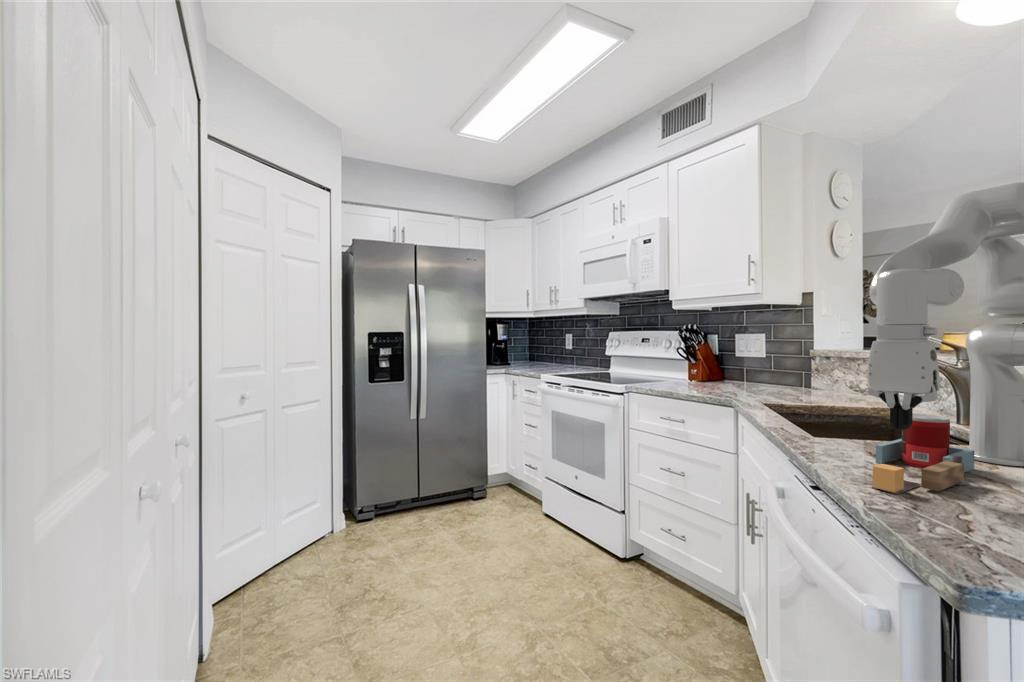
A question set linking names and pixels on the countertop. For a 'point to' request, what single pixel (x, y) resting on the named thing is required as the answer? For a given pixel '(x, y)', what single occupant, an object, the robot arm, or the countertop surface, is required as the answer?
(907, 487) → the grey flat plate
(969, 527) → the countertop surface
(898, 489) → the orange cube
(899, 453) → the keeper bay
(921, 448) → the canned food
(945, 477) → the bar
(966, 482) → the hinge base
